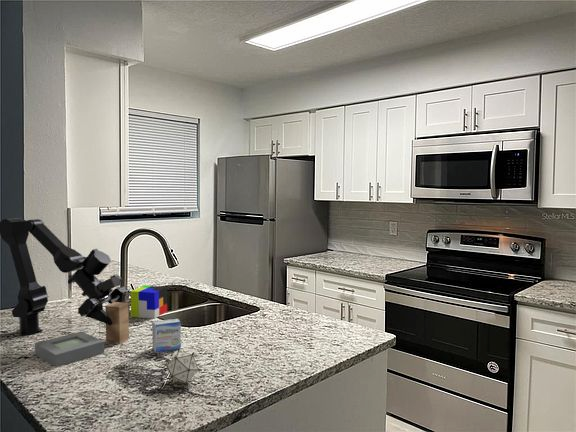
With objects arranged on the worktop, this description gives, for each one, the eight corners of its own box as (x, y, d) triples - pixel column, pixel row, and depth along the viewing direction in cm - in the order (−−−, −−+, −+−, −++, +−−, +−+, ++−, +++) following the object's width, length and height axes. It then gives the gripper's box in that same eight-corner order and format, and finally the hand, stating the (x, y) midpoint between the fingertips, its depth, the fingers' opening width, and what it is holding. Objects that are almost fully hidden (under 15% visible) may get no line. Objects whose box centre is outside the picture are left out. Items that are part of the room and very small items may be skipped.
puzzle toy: (154, 318, 168) (154, 292, 167) (130, 316, 170) (130, 291, 169) (167, 311, 178) (166, 286, 177) (144, 309, 180) (144, 285, 179)
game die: (177, 394, 115) (168, 357, 119) (208, 382, 115) (198, 345, 120) (164, 391, 107) (156, 351, 111) (198, 378, 107) (188, 339, 112)
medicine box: (155, 353, 133) (154, 325, 133) (152, 348, 137) (151, 321, 137) (181, 349, 137) (181, 321, 136) (177, 344, 141) (177, 317, 140)
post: (106, 342, 142) (105, 306, 141) (115, 337, 146) (114, 302, 146) (119, 344, 140) (119, 307, 140) (129, 339, 145) (128, 303, 144)
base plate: (35, 354, 131) (34, 343, 131) (81, 342, 142) (81, 331, 142) (56, 367, 122) (55, 354, 122) (104, 352, 133) (104, 341, 133)
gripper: (85, 273, 134) (118, 311, 132) (121, 263, 152) (151, 296, 150) (63, 297, 136) (95, 335, 134) (102, 284, 154) (131, 317, 152)
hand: (120, 320), depth 143 cm, fingers open, 9 cm apart
